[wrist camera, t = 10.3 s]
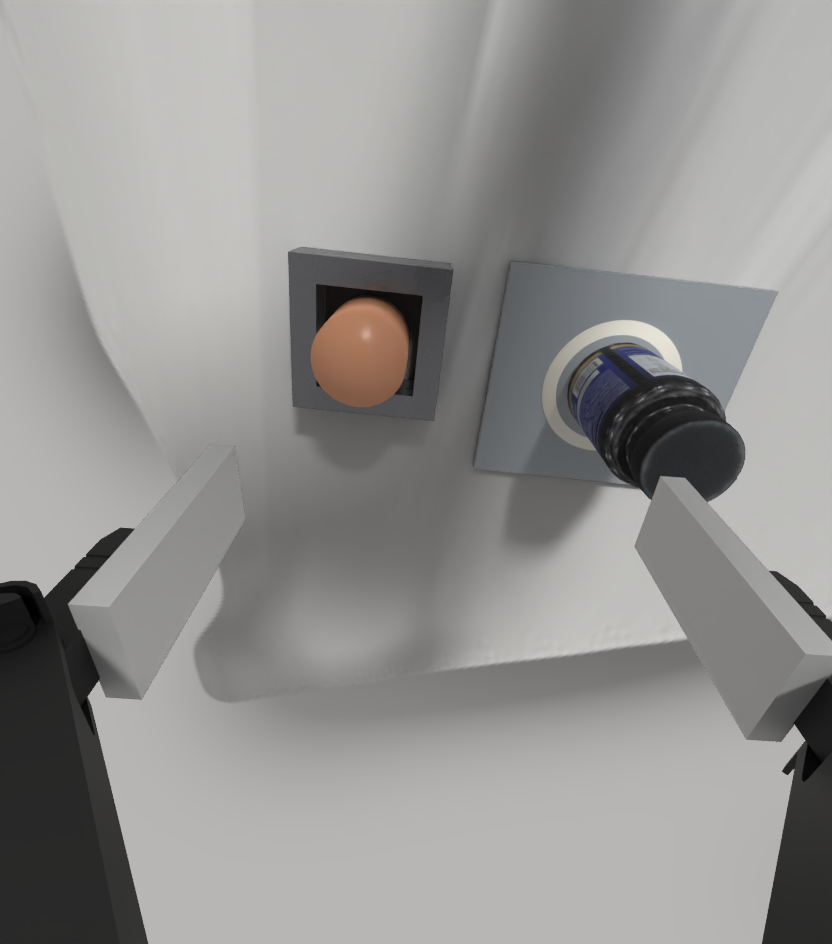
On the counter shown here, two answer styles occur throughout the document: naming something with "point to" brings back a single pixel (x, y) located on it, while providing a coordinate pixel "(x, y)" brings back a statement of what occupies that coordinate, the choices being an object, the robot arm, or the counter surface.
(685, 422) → the pill bottle
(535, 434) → the board
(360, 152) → the counter surface
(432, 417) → the button housing
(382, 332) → the button
